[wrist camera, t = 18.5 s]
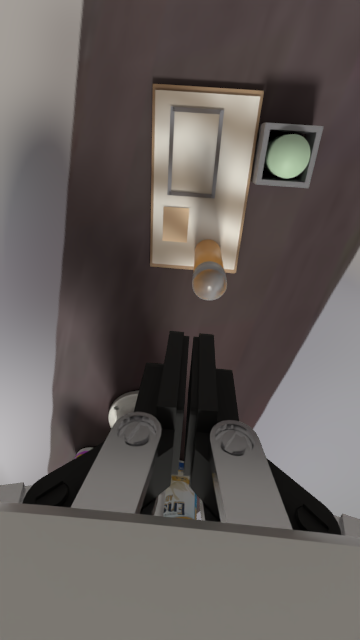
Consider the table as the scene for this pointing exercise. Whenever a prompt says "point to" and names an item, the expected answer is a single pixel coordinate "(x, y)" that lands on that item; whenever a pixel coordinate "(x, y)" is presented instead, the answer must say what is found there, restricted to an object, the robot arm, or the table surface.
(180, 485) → the beverage bottle
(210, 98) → the sheet
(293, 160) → the button
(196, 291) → the marker
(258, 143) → the button housing
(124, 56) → the table surface
